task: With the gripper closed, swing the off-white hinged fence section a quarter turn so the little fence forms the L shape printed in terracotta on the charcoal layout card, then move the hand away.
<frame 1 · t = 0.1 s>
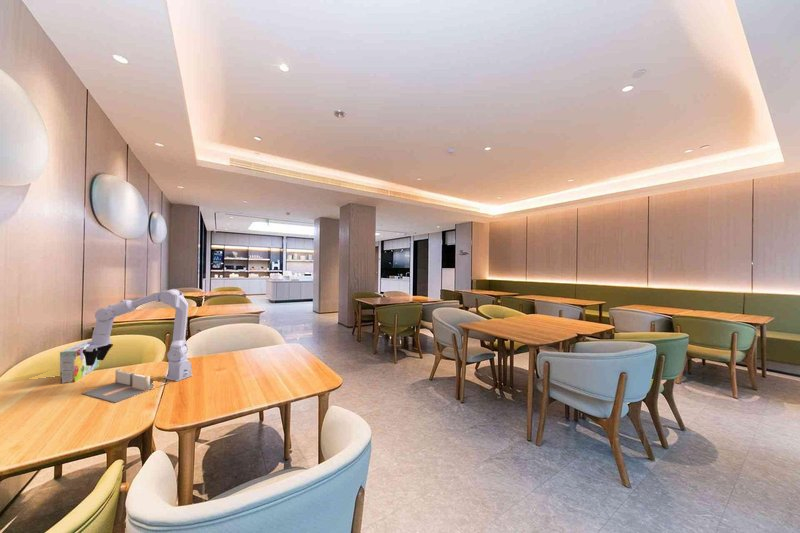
hand: (95, 362, 131), 10 cm above the table, tool pointing down, fingers open, 7 cm apart
snack box: (80, 375, 142), on the table
fixed fence section: (141, 381, 129), on the layout card
layout card: (132, 386, 131), on the table
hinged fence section: (125, 377, 132), point 4 cm above the table, hinge at 0.0°
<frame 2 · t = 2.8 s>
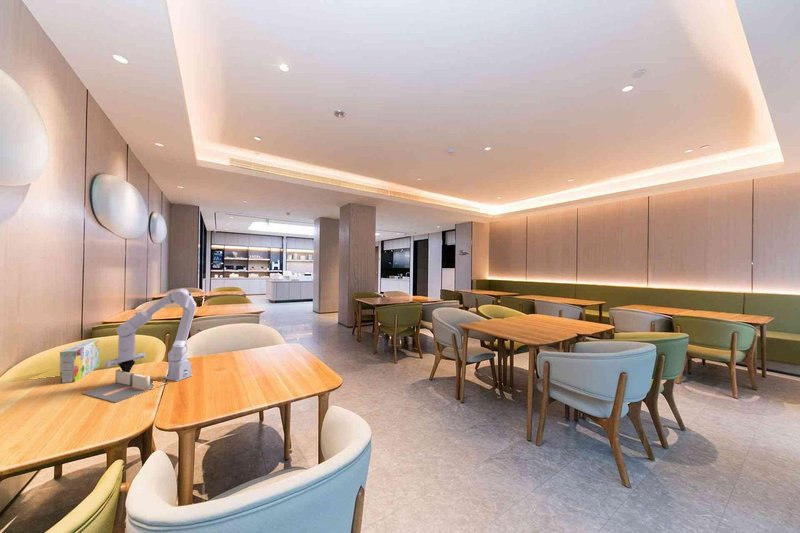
hand: (126, 376, 134), 3 cm above the table, tool pointing down, fingers closed
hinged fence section: (124, 377, 132), point 4 cm above the table, hinge at 0.1°, touching gripper
everything else where it was.
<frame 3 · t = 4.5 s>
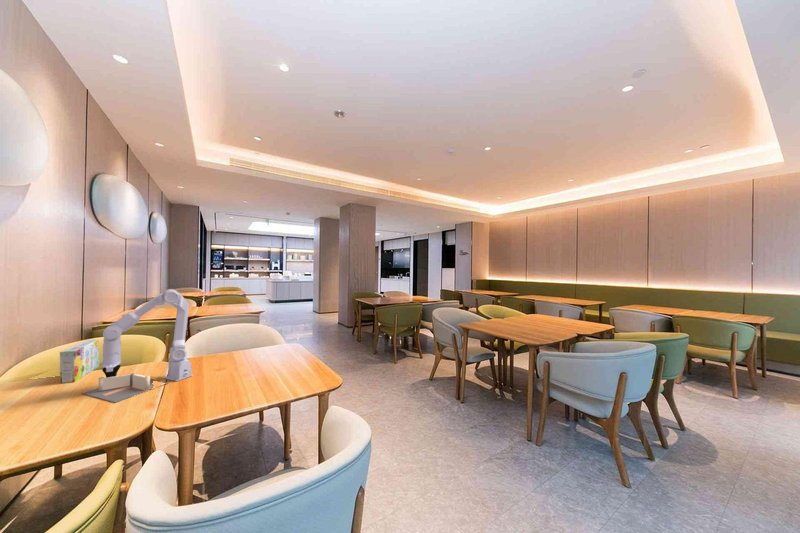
hand: (111, 382, 127), 3 cm above the table, tool pointing down, fingers closed, pressing on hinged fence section
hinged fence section: (116, 381, 128), point 4 cm above the table, hinge at 55.0°, touching gripper
everything else where it was.
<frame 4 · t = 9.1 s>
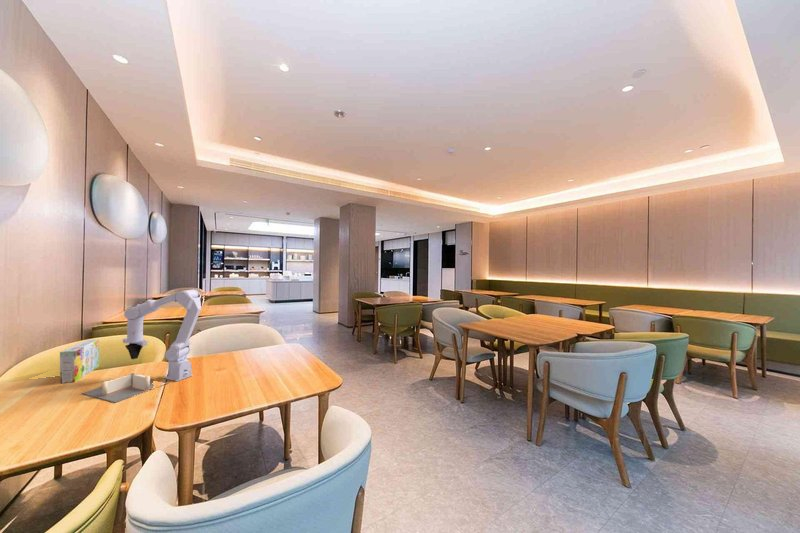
hand: (134, 358, 141), 9 cm above the table, tool pointing down, fingers closed
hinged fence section: (119, 383, 126), point 4 cm above the table, hinge at 92.3°
everything else where it was.
at the end: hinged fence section at +92° (first picture: +0°); snack box moved 0.3 cm from its start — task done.
